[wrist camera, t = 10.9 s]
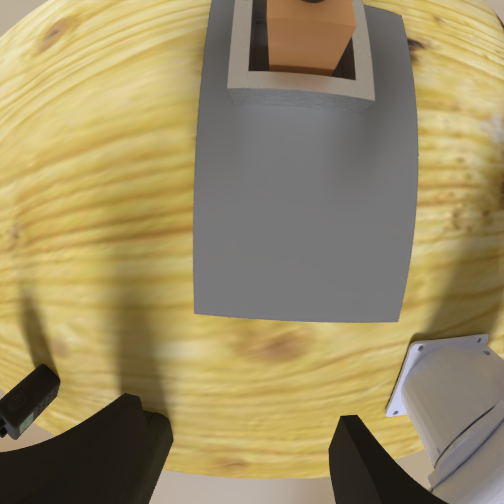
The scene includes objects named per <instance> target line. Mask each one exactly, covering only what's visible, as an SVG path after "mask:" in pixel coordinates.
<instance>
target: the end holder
mask: <svg viewBox="0 0 504 504" xmlns="http://www.w3.org/2000/svg"><path fill="white" fill-rule="evenodd" d="M352 4H353V9H354V15H355V21H356V29H355V31H354V33H353V34H352V36H351V38H350V40H349V42H348V44H347V46H346V48H345V50H344V52H343V54H342V56H341V65H342V78H336V77H329V76H321V75H312V74H301V73H287V72H264V71H254V53H255V34H256V23H264V24H267V0H235V6H234V16H233V26H232V36H231V47H230V59H229V71H228V84H227V89H228V91H229V93H230V95H231V98H232V100H233V102H234V104H235V105H250V106H280V107H296V108H308V109H318V110H327V111H335V112H343V113H350V114H356V115H359V114H360V113H361V112H363V111H364V110H365V109H366V108H367V107H368V106H369V105H371V104H372V103H373V102H374V101H375V93H374V79H373V68H372V59H371V50H370V42H369V35H368V29H367V22H366V17H365V11H364V6H363V1H362V0H352Z"/></svg>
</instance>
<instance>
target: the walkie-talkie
mask: <svg viewBox="0 0 504 504" xmlns="http://www.w3.org/2000/svg"><path fill="white" fill-rule="evenodd" d="M59 386H60V380H59V379H58V377H57V376H56V375H55V374H54V373H52V372H51V371H50V370H49V369H48V368H47V367H46V366H45V365H44V364H41V365H40V366H38V367H37V368H36V369H35V370H34V371H33V372H31V373H30V374H29V375H28V376H27V377H26V378H24V379H23V380H22V381H21V382H20V383H19V384H17V385H16V386H15V387H14V388H13V389H12V390H11V391H9V392H8V393H7V394H6V395H5V396H4V397H3V398H2V399H1V400H0V437H1V438H3V437H4V436H5V435H6V434H8V435H9V436H10V437H11V438H13V439H14V440H17V439H18V438H19V437H20V435H21V434H22V433H23V432H24V431H25V430H26V429H27V428H28V427H29V425H30V424H31V423H32V422H33V421H34V420H35V419H36V418H37V417H38V416H39V415H40V414H41V413H42V412H43V410H44V409H45V408H46V407H47V406H48V405H49V404H50V403H51V402H52V401H53V400H54V399H55V398H56V397H57V393H58V390H59Z"/></svg>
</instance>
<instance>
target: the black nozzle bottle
mask: <svg viewBox="0 0 504 504" xmlns="http://www.w3.org/2000/svg"><path fill="white" fill-rule="evenodd" d="M143 412H144V415H145V419H146V422H147V426H148V429H149V433H148V436H147V439H146V442H145V445H144V448H143V451H142V453H141V455H140V457H139V459H138V461H137V463H136V465H135V467H134V469H133V471H132V473H131V475H130V477H129V478H128V480H127V482H126V484H125V486H124V488H123V490H122V492H121V494H120V497H119V499H118V502H117V504H149V501H150V499H151V496H152V494H153V491H154V489H155V486H156V484H157V481H158V479H159V476H160V474H161V471H162V469H163V466H164V464H165V461H166V458H167V456H168V453H169V451H170V448H171V446H172V443H173V436H172V432H171V427H170V423H169V421H168V419H167V418H166V417H164V416H163V415H161V414H159V413H155V414H154V413H150V412H146V411H143Z"/></svg>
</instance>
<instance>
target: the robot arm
mask: <svg viewBox="0 0 504 504" xmlns="http://www.w3.org/2000/svg"><path fill="white" fill-rule="evenodd" d="M488 340H489V335H488V334H486V333H485V334H478V335H471V336H463V337H455V338H446V339H436V340H425V341H415V342H413V343H412V344H411V345H410V346H409V349H408V352H407V355H406V358H405V361H404V364H403V367H402V370H401V373H400V376H399V378H398V381H397V384H396V386H395V389H394V391H393V394H392V396H391V399H390V401H389V404H388V406H387V408H386V411H385V415H386V416H387V417H392V416H399V415H405V414H408V415H409V417H410V419H411V421H412V423H413V425H414V427H415V429H416V431H417V433H418V435H419V437H420V439H421V442H422V444H423V446H424V448H425V450H426V452H427V454H428V456H429V458H430V461H431V463H432V465H433V467H434V471H433V472H432V473H431V474H430V475H429V476H428V479H429V482H430V484H431V487H430V488H429V489H428V490H426V489H425V488H424V487H422V486H421V485H420V484H419V483H417V482H416V481H415V480H414V479H413V478H411V477H410V476H409V475H408V474H407V473H406V472H405V471H404V470H403V469H402V468H401V467H400V466H399V465H398V464H397V463H396V462H395V461H394V460H393V459H392V457H391V456H390V455H389V454H388V453H387V452H386V451H385V449H384V448H383V447H382V446H381V445H380V444H379V442H378V441H377V440H376V439H375V437H374V436H373V435H372V434H371V432H370V431H369V430H368V428H367V427H366V426H365V424H364V423H363V422H362V420H361V419H360V418H359V416H358V415H347V416H340V419H339V422H338V425H337V428H336V431H335V433H334V436H333V439H332V441H331V444H330V446H329V467H330V475H331V481H332V486H333V490H334V496H335V502H336V504H504V360H503V359H502V358H501V357H500V356H499V355H497V354H496V353H495V352H494V351H493V350H492V349H491V348H490V347H488V346H487V343H488ZM420 346H421V348H419V347H420ZM418 348H419V349H418ZM148 433H149V429H148V426H147V422H146V419H145V415H144V412H143V408H142V404H141V401H140V397H138V396H134V395H131V394H127V393H125V394H123V395H122V396H120V397H119V398H118V399H116V400H115V401H113V402H112V403H110V404H109V405H107V406H106V407H105V408H103V409H102V410H100V411H99V412H97V413H96V414H94V415H93V416H91V417H90V418H88V419H86V420H85V421H83V422H82V423H80V424H78V425H76V426H75V427H73V428H71V429H69V430H68V431H66V432H64V433H62V434H60V435H58V436H56V437H54V438H51V439H49V440H46V441H44V442H41V443H38V444H35V445H32V446H29V447H25V448H21V449H18V450H13V451H7V452H0V504H117V502H118V499H119V497H120V494H121V492H122V490H123V488H124V486H125V484H126V482H127V480H128V478H129V477H130V475H131V473H132V471H133V469H134V467H135V465H136V463H137V461H138V459H139V457H140V455H141V453H142V451H143V448H144V445H145V442H146V439H147V436H148Z"/></svg>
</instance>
